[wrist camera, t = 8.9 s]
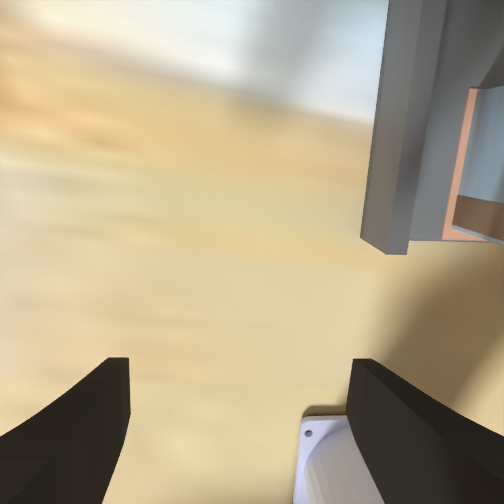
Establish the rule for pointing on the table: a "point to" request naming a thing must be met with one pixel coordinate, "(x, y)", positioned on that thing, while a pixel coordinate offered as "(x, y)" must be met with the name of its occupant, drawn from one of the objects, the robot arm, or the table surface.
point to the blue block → (483, 171)
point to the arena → (427, 116)
